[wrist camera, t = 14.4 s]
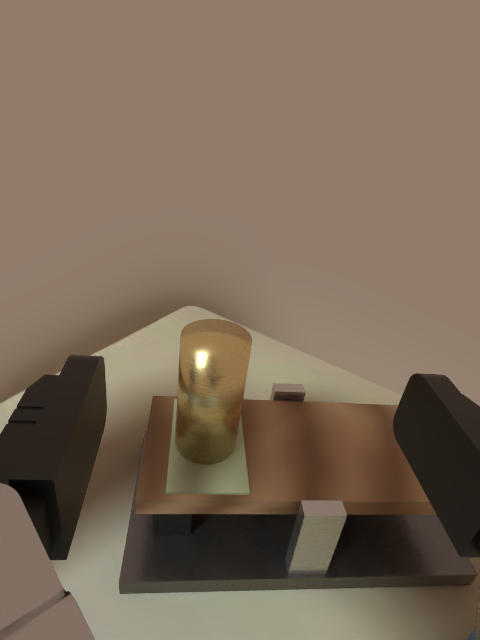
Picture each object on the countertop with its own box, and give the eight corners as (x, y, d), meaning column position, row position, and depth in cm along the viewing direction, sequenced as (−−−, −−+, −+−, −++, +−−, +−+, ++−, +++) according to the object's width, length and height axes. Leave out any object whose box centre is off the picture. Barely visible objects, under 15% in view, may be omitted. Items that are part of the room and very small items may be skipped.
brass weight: (174, 465, 31) (180, 355, 26) (175, 418, 35) (180, 317, 30) (239, 464, 31) (257, 357, 27) (232, 418, 36) (246, 320, 31)
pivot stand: (119, 593, 30) (114, 520, 26) (145, 441, 43) (144, 376, 39) (470, 584, 33) (515, 519, 29) (395, 445, 46) (418, 387, 42)
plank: (135, 513, 29) (135, 498, 28) (152, 408, 38) (153, 394, 37) (473, 514, 32) (482, 500, 31) (411, 417, 41) (416, 404, 41)
